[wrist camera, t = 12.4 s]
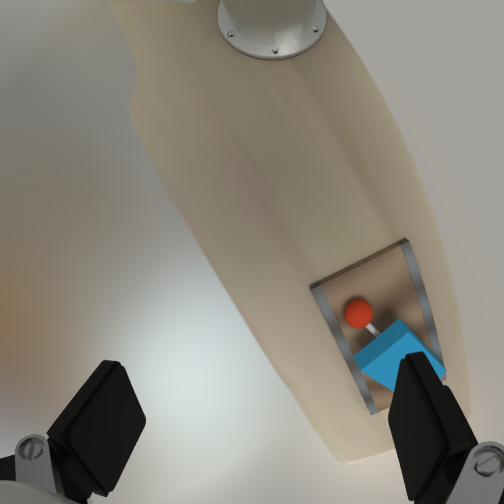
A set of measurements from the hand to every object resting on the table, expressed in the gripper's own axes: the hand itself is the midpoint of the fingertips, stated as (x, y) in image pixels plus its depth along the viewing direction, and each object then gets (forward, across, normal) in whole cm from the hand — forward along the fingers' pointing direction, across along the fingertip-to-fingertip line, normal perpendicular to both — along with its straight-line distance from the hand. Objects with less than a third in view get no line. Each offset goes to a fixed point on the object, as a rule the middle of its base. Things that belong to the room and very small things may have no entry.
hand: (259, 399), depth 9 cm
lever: (+26, -14, +17) cm, 34 cm away
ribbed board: (+27, -14, +17) cm, 34 cm away
